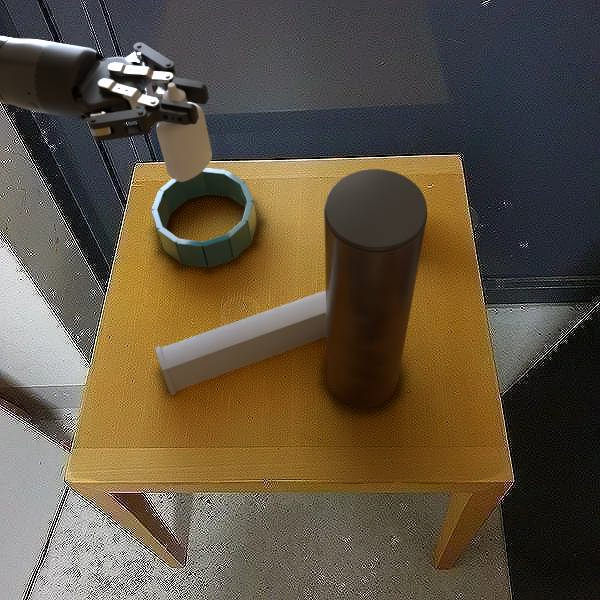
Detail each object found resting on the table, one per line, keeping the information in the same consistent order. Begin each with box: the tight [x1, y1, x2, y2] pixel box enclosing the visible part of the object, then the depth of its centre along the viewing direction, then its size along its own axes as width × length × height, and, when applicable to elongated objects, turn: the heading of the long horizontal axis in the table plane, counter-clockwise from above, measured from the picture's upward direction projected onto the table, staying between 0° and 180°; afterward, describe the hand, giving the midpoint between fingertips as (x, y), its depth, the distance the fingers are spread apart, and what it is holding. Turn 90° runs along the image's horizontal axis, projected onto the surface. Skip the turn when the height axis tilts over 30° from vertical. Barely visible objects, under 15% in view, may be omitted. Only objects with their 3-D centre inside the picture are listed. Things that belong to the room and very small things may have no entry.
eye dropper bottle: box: [155, 83, 213, 182], centre depth 76 cm, size 4×6×12 cm
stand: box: [323, 168, 428, 409], centre depth 66 cm, size 8×8×30 cm
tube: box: [154, 289, 327, 396], centre depth 79 cm, size 5×5×25 cm
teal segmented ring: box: [150, 167, 258, 268], centre depth 89 cm, size 13×13×4 cm
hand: (201, 104), depth 72 cm, fingers closed on eye dropper bottle, 2 cm apart
